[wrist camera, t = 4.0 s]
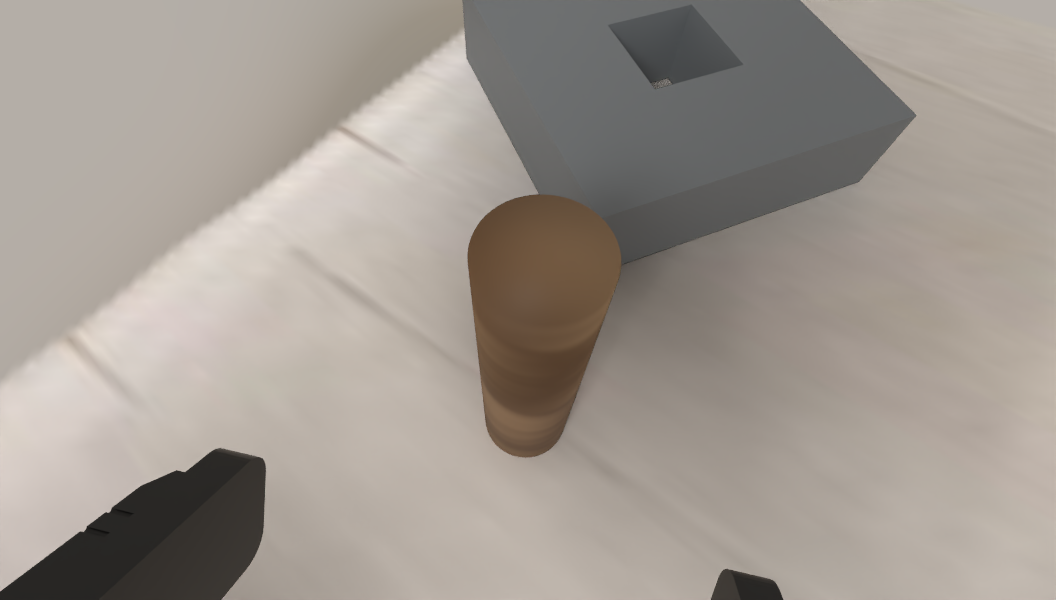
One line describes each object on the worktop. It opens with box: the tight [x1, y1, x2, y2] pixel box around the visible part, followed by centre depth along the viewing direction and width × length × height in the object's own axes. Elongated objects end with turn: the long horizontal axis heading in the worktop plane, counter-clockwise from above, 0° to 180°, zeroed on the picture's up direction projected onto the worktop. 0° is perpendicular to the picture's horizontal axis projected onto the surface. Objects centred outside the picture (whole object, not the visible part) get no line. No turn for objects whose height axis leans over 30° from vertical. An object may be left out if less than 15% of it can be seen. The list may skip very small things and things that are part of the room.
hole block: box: [463, 0, 916, 265], centre depth 28 cm, size 16×16×4 cm
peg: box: [468, 194, 621, 457], centre depth 17 cm, size 3×3×12 cm
